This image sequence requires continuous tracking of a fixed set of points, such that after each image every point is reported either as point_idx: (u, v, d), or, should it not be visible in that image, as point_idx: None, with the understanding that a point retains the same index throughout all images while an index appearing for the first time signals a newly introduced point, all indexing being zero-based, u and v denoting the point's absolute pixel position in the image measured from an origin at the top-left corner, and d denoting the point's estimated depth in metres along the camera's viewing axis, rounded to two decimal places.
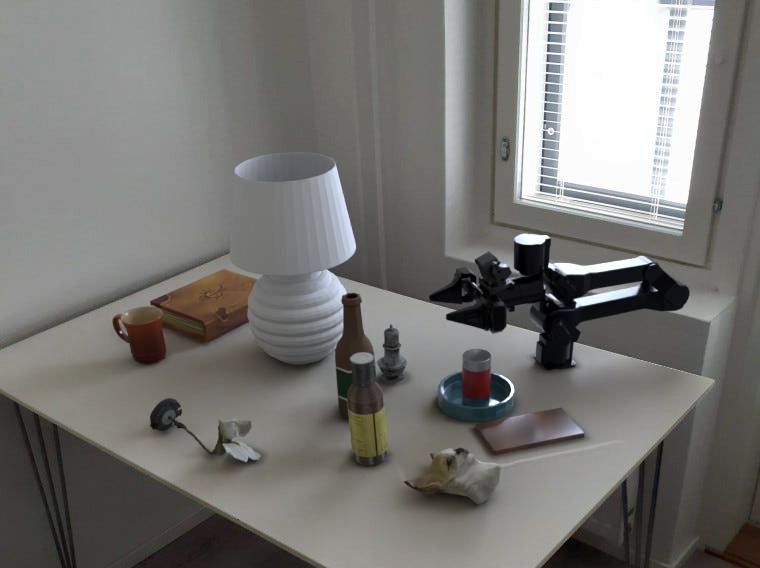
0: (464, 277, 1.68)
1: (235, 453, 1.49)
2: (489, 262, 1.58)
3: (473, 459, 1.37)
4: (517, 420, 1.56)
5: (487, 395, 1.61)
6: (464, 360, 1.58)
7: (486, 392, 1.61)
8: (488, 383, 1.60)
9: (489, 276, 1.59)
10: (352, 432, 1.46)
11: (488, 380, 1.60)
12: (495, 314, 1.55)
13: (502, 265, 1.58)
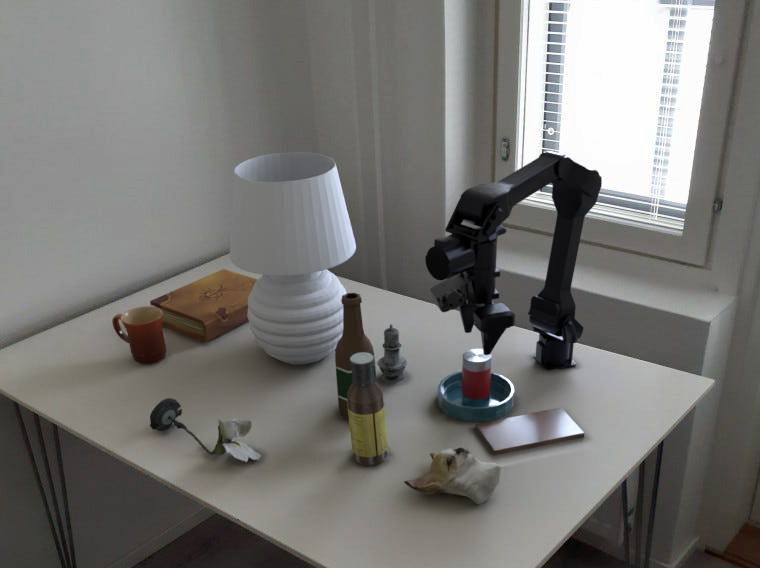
0: None
1: (235, 453, 1.49)
2: (440, 305, 1.49)
3: (473, 459, 1.37)
4: (517, 420, 1.56)
5: (487, 395, 1.61)
6: (464, 360, 1.58)
7: (486, 392, 1.61)
8: (488, 383, 1.60)
9: None
10: (352, 432, 1.46)
11: (488, 380, 1.60)
12: (493, 327, 1.46)
13: (445, 297, 1.47)
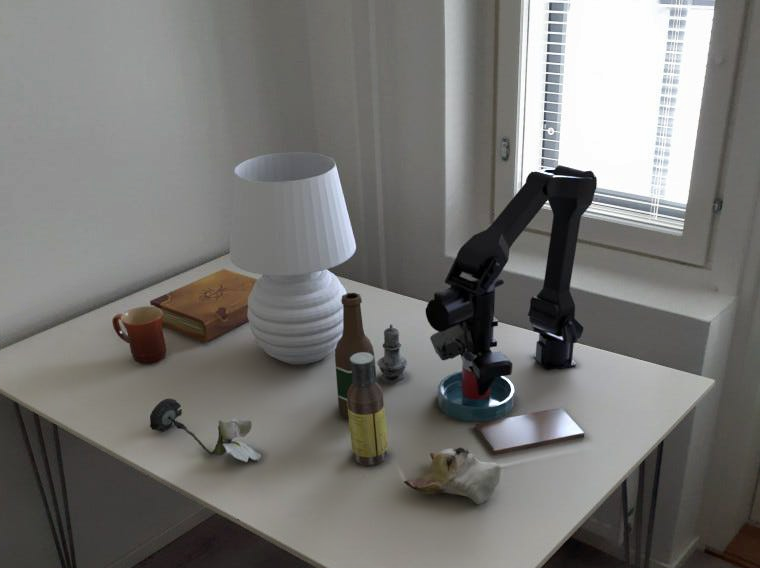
0: None
1: (235, 453, 1.49)
2: (440, 353, 1.54)
3: (473, 459, 1.37)
4: (517, 420, 1.56)
5: (487, 395, 1.61)
6: (464, 360, 1.58)
7: (486, 392, 1.61)
8: None
9: None
10: (352, 432, 1.46)
11: None
12: (491, 376, 1.51)
13: (445, 346, 1.52)
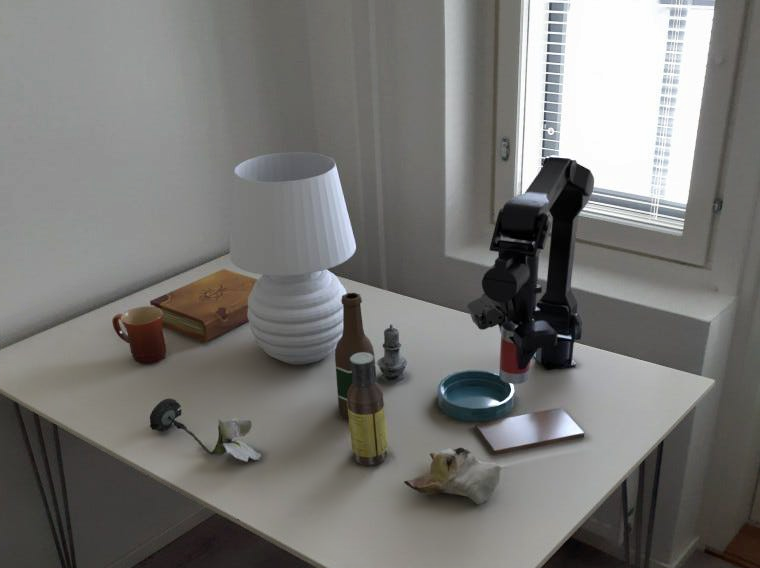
0: None
1: (235, 453, 1.49)
2: (478, 322, 1.42)
3: (473, 459, 1.37)
4: (517, 420, 1.56)
5: (527, 369, 1.49)
6: (503, 330, 1.46)
7: (527, 366, 1.49)
8: None
9: None
10: (352, 432, 1.46)
11: None
12: (535, 346, 1.38)
13: (484, 314, 1.40)
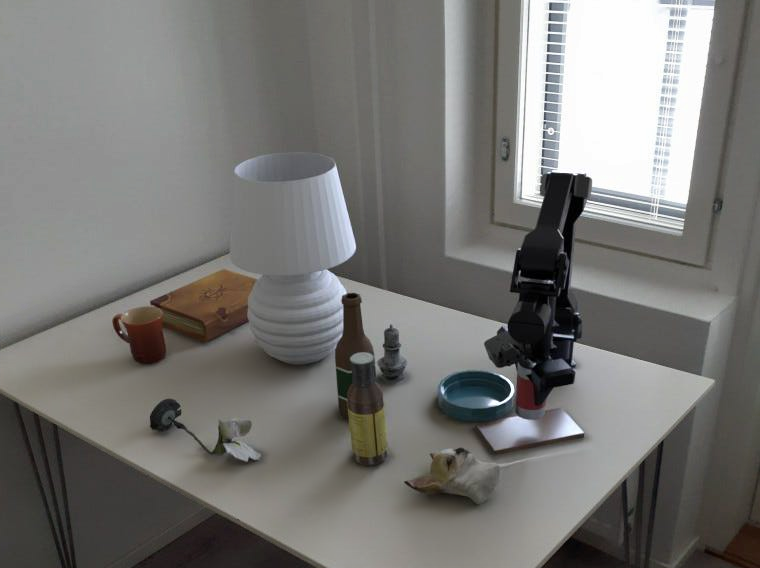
0: None
1: (235, 453, 1.49)
2: (495, 361, 1.42)
3: (473, 459, 1.37)
4: (517, 420, 1.56)
5: (544, 405, 1.49)
6: (520, 368, 1.46)
7: (543, 402, 1.49)
8: None
9: None
10: (352, 432, 1.46)
11: None
12: (553, 385, 1.39)
13: (502, 353, 1.40)
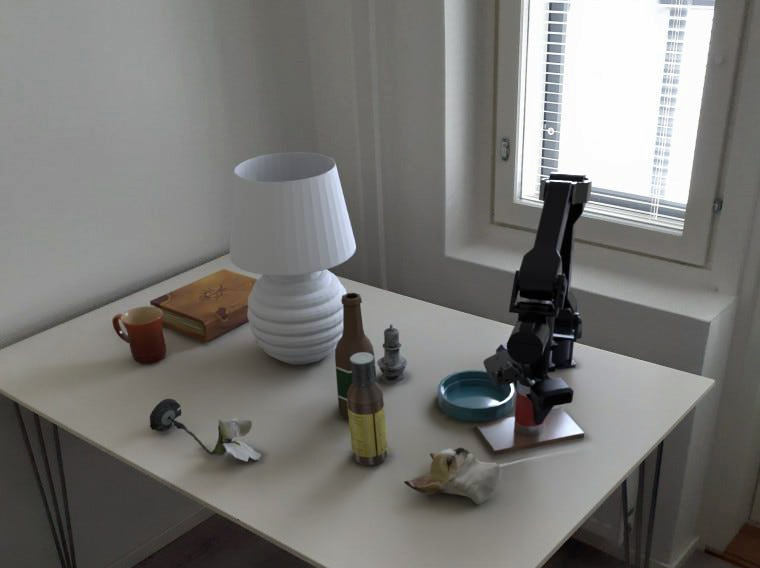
0: None
1: (235, 453, 1.49)
2: (494, 379, 1.44)
3: (473, 459, 1.37)
4: None
5: (542, 422, 1.51)
6: (519, 385, 1.48)
7: None
8: None
9: None
10: (352, 432, 1.46)
11: None
12: (551, 404, 1.40)
13: (501, 372, 1.42)
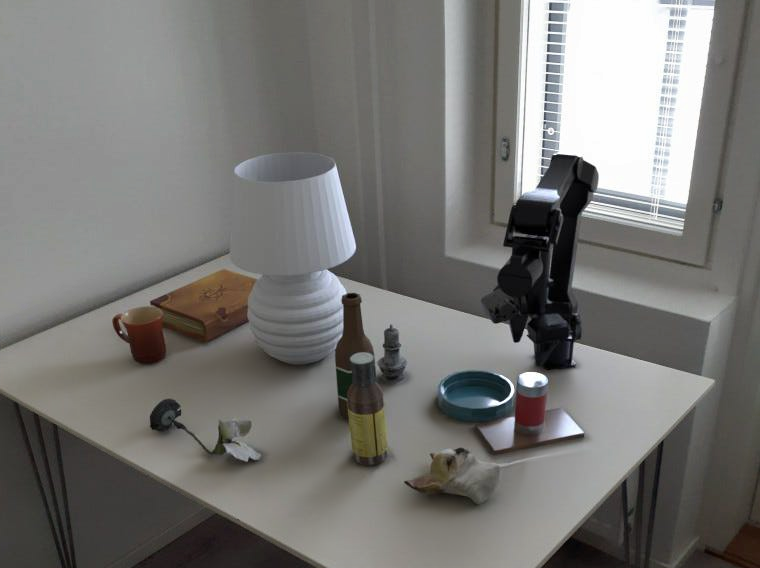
0: None
1: (235, 453, 1.49)
2: (492, 316, 1.45)
3: (473, 459, 1.37)
4: None
5: (542, 422, 1.51)
6: (519, 385, 1.48)
7: (542, 419, 1.51)
8: (544, 409, 1.50)
9: None
10: (352, 432, 1.46)
11: (544, 405, 1.49)
12: (548, 339, 1.41)
13: (498, 309, 1.43)
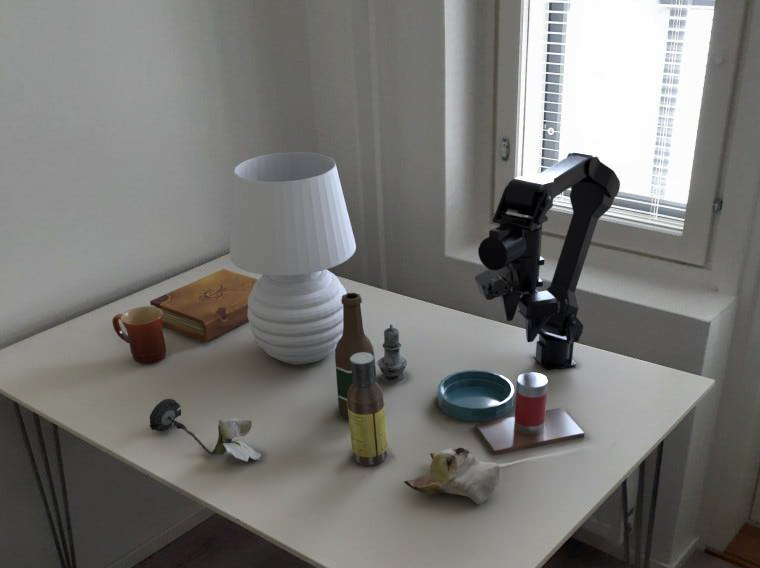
0: None
1: (236, 453, 1.49)
2: (485, 293, 1.52)
3: (473, 459, 1.37)
4: None
5: (542, 422, 1.51)
6: (519, 385, 1.48)
7: (542, 419, 1.51)
8: (544, 409, 1.50)
9: None
10: (352, 432, 1.46)
11: (544, 405, 1.49)
12: (539, 314, 1.48)
13: (491, 285, 1.50)
